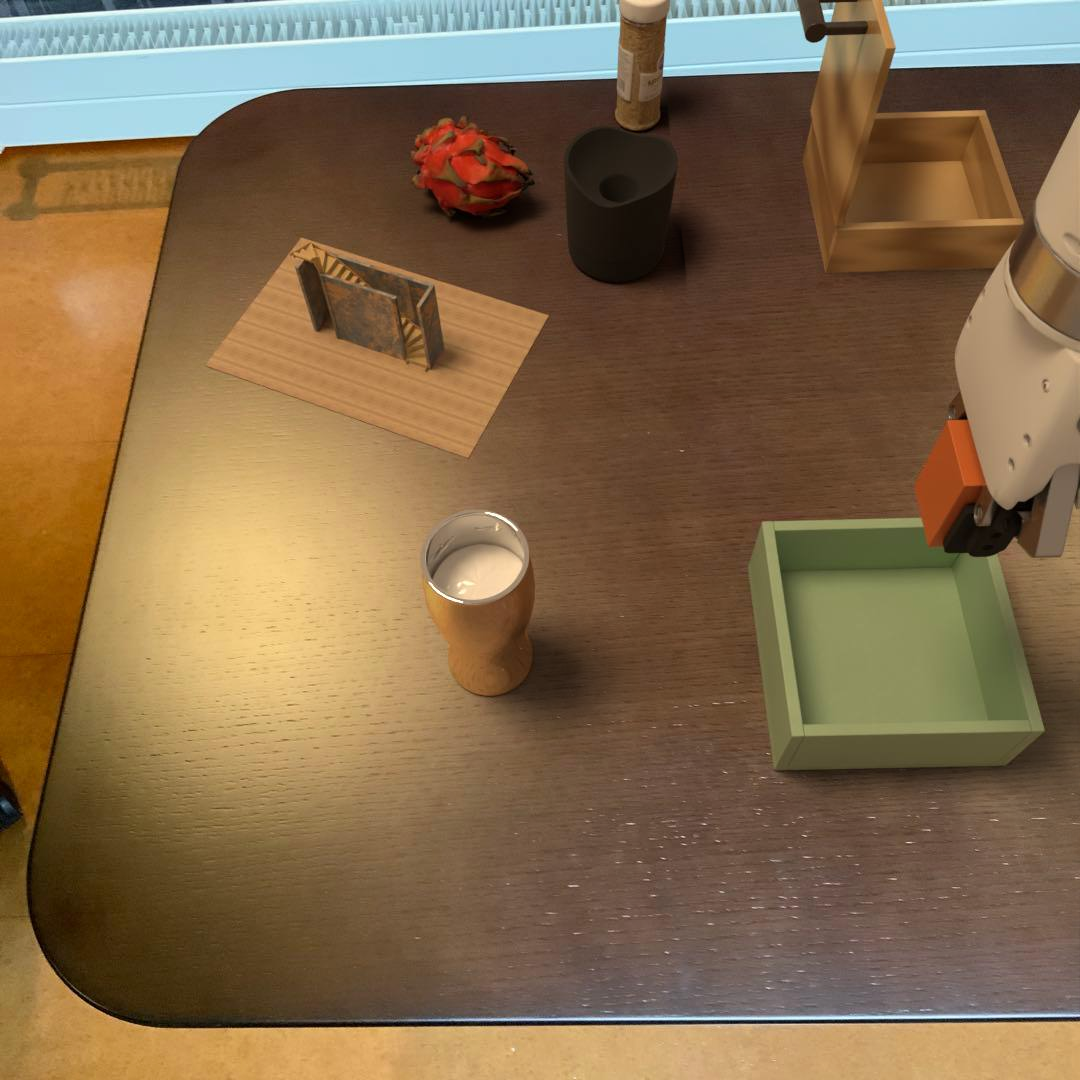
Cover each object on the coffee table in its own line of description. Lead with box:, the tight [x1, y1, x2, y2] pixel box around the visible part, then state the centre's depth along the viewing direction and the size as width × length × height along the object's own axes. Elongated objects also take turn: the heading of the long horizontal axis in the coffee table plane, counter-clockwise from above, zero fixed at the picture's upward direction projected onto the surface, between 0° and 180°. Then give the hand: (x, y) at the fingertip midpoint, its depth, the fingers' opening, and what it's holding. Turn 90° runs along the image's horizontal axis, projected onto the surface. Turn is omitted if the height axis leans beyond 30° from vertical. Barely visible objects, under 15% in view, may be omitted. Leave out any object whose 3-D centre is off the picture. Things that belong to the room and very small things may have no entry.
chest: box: [802, 109, 1025, 274], centre depth 94 cm, size 16×15×6 cm
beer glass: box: [419, 508, 536, 697], centre depth 69 cm, size 7×7×15 cm
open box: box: [747, 517, 1046, 771], centre depth 72 cm, size 16×16×7 cm
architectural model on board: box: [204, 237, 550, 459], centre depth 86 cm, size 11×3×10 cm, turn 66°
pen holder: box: [563, 125, 679, 283], centre depth 91 cm, size 9×9×10 cm
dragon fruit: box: [410, 115, 537, 218], centre depth 96 cm, size 8×8×12 cm
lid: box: [796, 0, 897, 226], centre depth 84 cm, size 16×15×5 cm
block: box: [913, 419, 985, 547], centre depth 55 cm, size 4×4×6 cm
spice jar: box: [614, 0, 671, 132], centre depth 99 cm, size 5×5×13 cm
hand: (963, 508), depth 57 cm, fingers closed on block, 4 cm apart
